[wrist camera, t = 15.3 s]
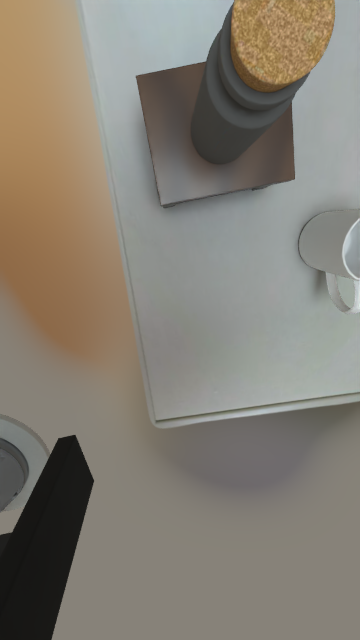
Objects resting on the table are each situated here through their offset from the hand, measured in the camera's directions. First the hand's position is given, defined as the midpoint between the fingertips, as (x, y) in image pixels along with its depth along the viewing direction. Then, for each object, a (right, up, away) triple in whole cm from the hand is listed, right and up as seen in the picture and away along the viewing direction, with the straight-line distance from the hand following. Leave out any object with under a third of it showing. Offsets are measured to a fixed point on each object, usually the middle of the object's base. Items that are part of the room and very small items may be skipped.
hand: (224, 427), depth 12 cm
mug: (+19, +14, +28) cm, 36 cm away
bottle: (+2, +23, +14) cm, 27 cm away
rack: (+1, +26, +23) cm, 34 cm away
